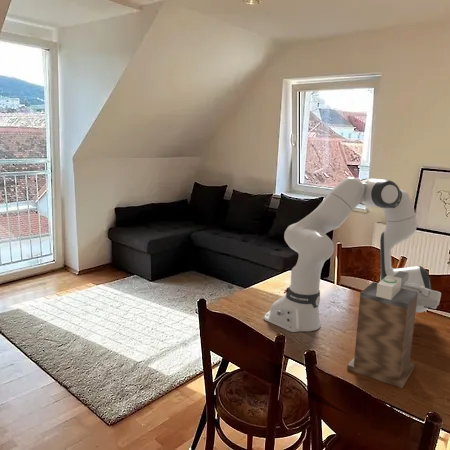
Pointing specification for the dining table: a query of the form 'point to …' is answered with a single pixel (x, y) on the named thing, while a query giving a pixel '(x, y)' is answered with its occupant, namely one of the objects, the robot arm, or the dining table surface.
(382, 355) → the stand
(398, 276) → the block
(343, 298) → the dining table surface
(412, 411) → the dining table surface
